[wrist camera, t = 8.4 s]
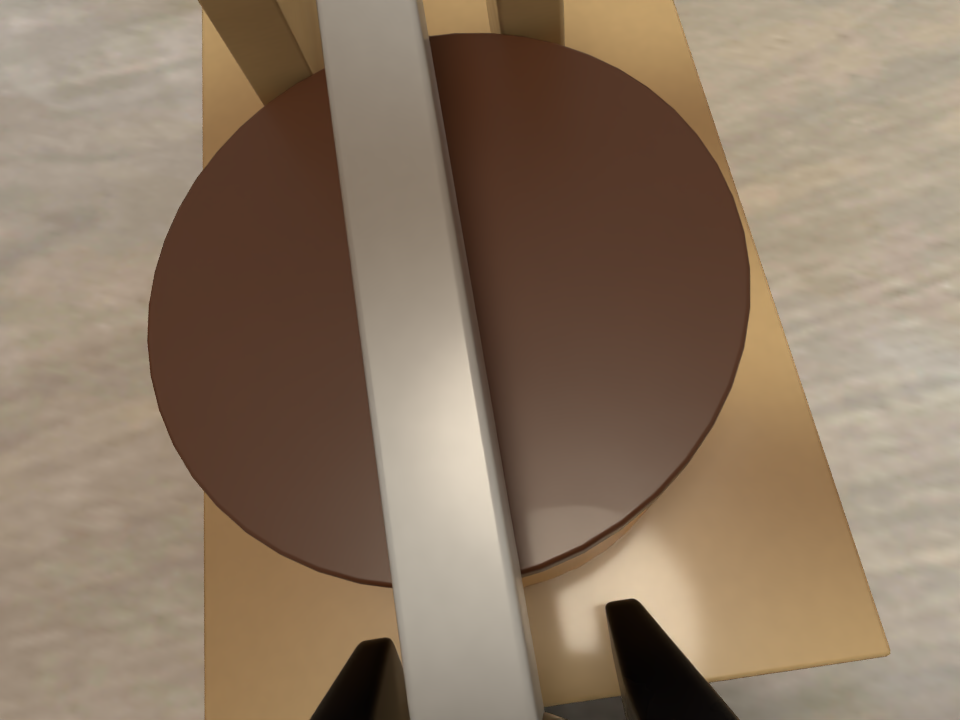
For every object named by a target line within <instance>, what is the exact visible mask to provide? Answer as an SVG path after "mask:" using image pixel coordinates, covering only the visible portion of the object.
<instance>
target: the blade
mask: <svg viewBox="0 0 960 720" xmlns="http://www.w3.org/2000/svg"><path fill="white" fill-rule="evenodd" d="M316 5H317V12H318V20H319V28H320V35H321V43H322V51H323V58H324V66H325V74H326V81H327V89H328V97H329V104H330V112H331V120H332V127H333V135H334V143H335V150H336V158H337V166H338V173H339V181H340V189H341V196H342V204H343V212H344V219H345V227H346V235H347V242H348V250H349V258H350V265H351V273H352V281H353V288H354V296H355V304H356V311H357V319H358V327H359V335H360V342H361V350H362V358H363V365H364V373H365V381H366V388H367V396H368V404H369V411H370V419H371V427H372V434H373V442H374V450H375V457H376V465H377V473H378V480H379V488H380V496H381V503H382V511H383V519H384V526H385V534H386V542H387V549H388V557H389V565H390V572H391V580H392V588H393V595H394V603H395V611H396V618H397V626H398V634H399V641H400V649H401V657H402V664H403V672H404V680H405V687H406V695H407V703H408V710H409V718H410V720H567V719H564V718H562V717H559V716H556V715H553V714H550V713H546V712H545V711H544V706H543V700H542V694H541V688H540V682H539V676H538V671H537V665H536V659H535V653H534V647H533V641H532V636H531V630H530V624H529V618H528V612H527V606H526V601H525V595H524V589H523V583H522V577H521V571H520V566H519V560H518V554H517V548H516V542H515V537H514V531H513V525H512V519H511V513H510V507H509V502H508V496H507V490H506V484H505V478H504V472H503V467H502V461H501V455H500V449H499V443H498V437H497V432H496V426H495V420H494V414H493V408H492V402H491V397H490V391H489V385H488V379H487V373H486V367H485V362H484V356H483V350H482V344H481V338H480V332H479V327H478V321H477V315H476V309H475V303H474V297H473V292H472V286H471V280H470V274H469V268H468V262H467V257H466V251H465V245H464V239H463V233H462V227H461V222H460V216H459V210H458V204H457V198H456V192H455V187H454V181H453V175H452V169H451V163H450V157H449V152H448V146H447V140H446V134H445V128H444V122H443V117H442V111H441V105H440V99H439V93H438V87H437V82H436V76H435V70H434V64H433V58H432V52H431V47H430V41H429V35H428V29H427V23H426V17H425V12H424V6H423V0H316Z"/></svg>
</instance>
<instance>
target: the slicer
mask: <svg viewBox="0 0 960 720" xmlns="http://www.w3.org/2000/svg"><path fill="white" fill-rule="evenodd" d="M198 1H199V3H200V5H201V6H202V69H203V169H204V168H205V167H206V165H207V164H208V163H209V161H210V160H211V159H212V157H213V156H214V155H215V153H216V152H217V151H218V150H219V149H220V148H221V147H222V146H223V145H224V144H225V142H226V141H227V140H228V139H229V138H230V137H231V136H232V135H233V134H234V133H235V132H236V131H237V130H238V129H239V128H240V127H241V126H242V125H243V124H244V123H245V122H246V121H247V120H249V119H250V118H251V117H252V116H253V115H254V114H256V113H257V112H258V111H259V110H260V109H261V108H263V107H264V106H265V105H266V104H267V103H269V102H270V101H272V100H273V99H275V98H276V97H277V96H279V95H280V94H282V93H283V92H285V91H286V90H287V89H289V88H290V87H292V86H293V85H295V84H296V83H298V82H300V81H302V80H304V79H305V78H307V77H309V76H311V75H313V74H314V73H316V72H318V71H320V70H321V69H323V68H325V66H324V58H323V51H322V43H321V35H320V28H319V20H318V12H317V5H316V0H198ZM423 6H424V12H425V17H426V23H427V29H428V35H429V36H433V35H442V34H451V33H496V34H506V35H516V36H524V37H529V38H534V39H538V40H543V41H548V42H553V43H557V44H560V45H563V46H566V47H569V48H572V49H575V50H578V51H581V52H584V53H587V54H589V55H591V56H593V57H596V58H598V59H600V60H602V61H604V62H606V63H608V64H610V65H612V66H615V67H617V68H619V69H620V70H622V71H624V72H625V73H627V74H628V75H630V76H631V77H633V78H635V79H636V80H638V81H639V82H641V83H642V84H644V85H646V86H647V87H649V88H650V89H651V90H652V91H653V92H655V93H656V94H657V95H658V96H659V97H661V98H662V99H663V100H664V101H665V102H666V103H668V104H669V105H670V106H671V107H672V108H674V109H675V110H676V111H677V113H678V114H679V115H680V116H681V117H682V118H683V119H684V120H685V121H686V122H687V124H688V125H689V126H690V127H691V128H692V129H693V130H694V131H695V132H696V133H697V135H698V136H699V137H700V139H701V140H702V142H703V143H704V145H705V146H706V148H707V149H708V151H709V152H710V154H711V155H712V157H713V158H714V159H715V161H716V162H717V164H718V166H719V168H720V170H721V172H722V174H723V176H724V178H725V180H726V182H727V184H728V187H729V189H730V191H731V193H732V195H733V197H734V200H735V203H736V206H737V209H738V213H739V216H740V219H741V222H742V225H743V229H744V232H745V238H746V244H747V251H748V257H749V264H750V314H749V321H748V328H747V334H746V341H745V347H744V351H743V354H742V357H741V360H740V364H739V367H738V370H737V373H736V377H735V380H734V383H733V386H732V389H731V391H730V393H729V395H728V397H727V399H726V401H725V403H724V405H723V407H722V410H721V412H720V414H719V416H718V418H717V420H716V422H715V424H714V426H713V428H712V429H711V431H710V432H709V433H708V435H707V436H706V438H705V439H704V441H703V442H702V444H701V445H700V447H699V448H698V450H697V451H696V453H695V454H694V456H693V457H692V459H691V460H690V462H689V463H688V464H687V466H686V467H685V469H684V470H683V471H682V472H681V473H680V474H679V475H678V476H677V478H676V479H675V480H674V481H673V482H672V483H671V484H670V485H669V486H668V488H667V489H666V490H665V491H664V492H663V493H662V494H661V495H660V496H659V498H658V499H657V500H656V501H655V502H654V503H653V504H651V505H650V506H649V507H648V508H647V510H646V511H645V512H644V514H643V515H642V516H641V517H640V518H639V519H638V520H637V521H636V522H635V524H634V525H633V526H632V527H631V528H630V529H629V530H628V531H627V532H626V533H625V534H624V535H623V536H622V537H621V538H619V539H618V540H617V541H616V542H615V543H613V544H612V545H611V546H610V547H609V548H607V549H606V550H605V551H604V552H602V553H601V554H599V555H597V556H596V557H594V558H593V559H591V560H589V561H588V562H586V563H585V564H583V565H581V566H580V567H578V568H576V569H573V570H571V571H569V572H567V573H564V574H562V575H560V576H558V577H556V578H553V579H550V580H547V581H543V582H540V583H536V584H533V585H530V586H526V587H523V589H524V595H525V601H526V606H527V612H528V618H529V624H530V630H531V636H532V641H533V647H534V653H535V659H536V665H537V671H538V676H539V682H540V688H541V694H542V700H543V706H544V707H549V706H555V705H562V704H569V703H576V702H582V701H589V700H596V699H603V698H609V697H616V696H621V692H620V687H619V683H618V678H617V673H616V668H615V664H614V659H613V654H612V648H611V642H610V636H609V630H608V624H607V618H606V611H605V606H606V604H607V603H608V602H612V601H618V600H624V599H630V598H634V599H636V600H638V601H639V602H640V603H641V604H642V605H643V606H644V608H645V609H646V610H647V611H648V612H649V613H650V615H651V616H652V617H653V618H654V619H655V621H656V622H657V623H658V624H659V625H660V626H661V628H662V629H663V630H664V631H665V632H666V634H667V635H668V636H669V637H670V638H671V639H672V641H673V642H674V643H675V644H676V645H677V646H678V648H679V649H680V650H681V651H682V652H683V654H684V655H685V656H686V657H687V658H688V659H689V661H690V662H691V663H692V664H693V665H694V667H695V668H696V669H697V670H698V671H699V672H700V674H701V675H702V676H703V677H704V678H705V680H706V681H707V682H708V683H711V682H717V681H724V680H731V679H738V678H744V677H751V676H758V675H765V674H771V673H778V672H785V671H792V670H798V669H805V668H812V667H819V666H825V665H832V664H839V663H846V662H852V661H859V660H866V659H873V658H879V657H886V656H888V655H889V654H890V648H889V645H888V642H887V639H886V636H885V633H884V630H883V627H882V624H881V621H880V618H879V615H878V612H877V609H876V606H875V603H874V600H873V597H872V594H871V591H870V588H869V585H868V582H867V579H866V576H865V573H864V570H863V567H862V564H861V561H860V558H859V555H858V552H857V549H856V546H855V543H854V540H853V537H852V534H851V531H850V528H849V525H848V522H847V519H846V516H845V513H844V510H843V507H842V504H841V501H840V498H839V495H838V492H837V489H836V486H835V483H834V480H833V477H832V474H831V471H830V468H829V465H828V462H827V459H826V456H825V453H824V450H823V447H822V444H821V441H820V438H819V435H818V432H817V429H816V426H815V423H814V420H813V417H812V414H811V411H810V408H809V405H808V402H807V399H806V396H805V393H804V390H803V387H802V384H801V381H800V378H799V375H798V372H797V369H796V366H795V363H794V360H793V357H792V354H791V351H790V348H789V345H788V342H787V339H786V336H785V333H784V330H783V327H782V324H781V321H780V318H779V315H778V312H777V309H776V306H775V303H774V300H773V297H772V294H771V291H770V288H769V285H768V282H767V279H766V276H765V273H764V270H763V267H762V264H761V261H760V258H759V255H758V252H757V249H756V246H755V243H754V240H753V237H752V235H751V232H750V229H749V226H748V223H747V220H746V217H745V214H744V211H743V208H742V205H741V202H740V199H739V196H738V193H737V190H736V187H735V184H734V181H733V178H732V175H731V172H730V169H729V166H728V163H727V160H726V157H725V154H724V151H723V148H722V145H721V142H720V139H719V136H718V133H717V130H716V127H715V124H714V121H713V118H712V115H711V112H710V109H709V106H708V103H707V100H706V97H705V94H704V91H703V88H702V85H701V82H700V79H699V76H698V73H697V70H696V67H695V64H694V61H693V58H692V55H691V52H690V49H689V46H688V43H687V40H686V37H685V34H684V31H683V28H682V25H681V22H680V19H679V16H678V13H677V10H676V7H675V4H674V1H673V0H423ZM384 637H386V638H390V639H391V640H392V641H393V642H394V645H395V647H396V650H397V653H398V655H399V658H400V661H401V663H402V657H401V649H400V641H399V634H398V626H397V618H396V611H395V603H394V595H393V588H385V587H378V586H370V585H363V584H358V583H354V582H351V581H347V580H344V579H340V578H337V577H333V576H330V575H326V574H323V573H319V572H317V571H315V570H312V569H310V568H308V567H306V566H304V565H301V564H299V563H297V562H295V561H293V560H290V559H288V558H286V557H284V556H282V555H280V554H278V553H276V552H275V551H273V550H272V549H270V548H269V547H267V546H266V545H264V544H263V543H261V542H260V541H258V540H256V539H255V538H253V537H252V536H250V535H249V534H247V533H246V532H245V531H244V530H242V529H241V528H240V527H239V526H238V525H237V524H236V523H235V522H233V521H232V520H231V519H230V518H229V517H228V516H227V515H226V514H224V513H223V512H222V511H221V510H220V509H219V508H218V507H217V506H216V505H215V504H214V503H213V501H212V500H211V499H210V498H209V497H208V495H207V494H206V493H205V492H204V655H205V720H310V718H311V717H312V715H313V713H314V712H315V710H316V709H317V707H318V706H319V704H320V703H321V701H322V699H323V698H324V696H325V695H326V693H327V692H328V690H329V689H330V687H331V685H332V684H333V682H334V681H335V679H336V678H337V676H338V675H339V673H340V671H341V670H342V668H343V667H344V665H345V664H346V662H347V661H348V659H349V657H350V656H351V654H352V653H353V651H354V650H355V648H356V647H357V645H358V644H359V643H361V642H362V641H365V640H371V639H378V638H384ZM402 666H403V664H402Z"/></svg>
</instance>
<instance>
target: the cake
mask: <svg viewBox="0 0 960 720" xmlns="http://www.w3.org/2000/svg"><path fill="white" fill-rule="evenodd" d="M429 41H430V47H431V52H432V58H433V64H434V70H435V76H436V82H437V87H438V93H439V99H440V105H441V111H442V117H443V122H444V128H445V134H446V140H447V146H448V152H449V157H450V163H451V169H452V175H453V181H454V187H455V192H456V198H457V204H458V210H459V216H460V222H461V227H462V233H463V239H464V245H465V251H466V257H467V262H468V268H469V274H470V280H471V286H472V292H473V297H474V303H475V309H476V315H477V321H478V327H479V332H480V338H481V344H482V350H483V356H484V362H485V367H486V373H487V379H488V385H489V391H490V397H491V402H492V408H493V414H494V420H495V426H496V432H497V437H498V443H499V449H500V455H501V461H502V467H503V472H504V478H505V484H506V490H507V496H508V502H509V507H510V513H511V519H512V525H513V531H514V537H515V542H516V548H517V554H518V560H519V566H520V571H521V577H522V583H523V587H526V586H530V585H533V584H536V583H540V582H543V581H547V580H550V579H553V578H556V577H558V576H560V575H562V574H564V573H567V572H569V571H571V570H573V569H576V568H578V567H580V566H581V565H583V564H585V563H586V562H588V561H589V560H591V559H593V558H594V557H596V556H597V555H599V554H601V553H602V552H604V551H605V550H606V549H607V548H609V547H610V546H611V545H612V544H613V543H615V542H616V541H617V540H618V539H619V538H621V537H622V536H623V535H624V534H625V533H626V532H627V531H628V530H629V529H630V528H631V527H632V526H633V525H634V524H635V522H636V521H637V520H638V519H639V518H640V517H641V516H642V515H643V514H644V512H645V511H646V510H647V508H648V507H649V506H650V505H651V504H653V503H654V502H655V501H656V500H657V499H658V498H659V496H660V495H661V494H662V493H663V492H664V491H665V490H666V489H667V488H668V486H669V485H670V484H671V483H672V482H673V481H674V480H675V479H676V478H677V476H678V475H679V474H680V473H681V472H682V471H683V470H684V469H685V467H686V466H687V464H688V463H689V462H690V460H691V459H692V457H693V456H694V454H695V453H696V451H697V450H698V448H699V447H700V445H701V444H702V442H703V441H704V439H705V438H706V436H707V435H708V433H709V432H710V431H711V429H712V428H713V426H714V424H715V422H716V420H717V418H718V416H719V414H720V412H721V410H722V407H723V405H724V403H725V401H726V399H727V397H728V395H729V393H730V391H731V389H732V386H733V383H734V380H735V377H736V373H737V370H738V367H739V364H740V360H741V357H742V354H743V351H744V347H745V341H746V334H747V328H748V321H749V314H750V264H749V257H748V251H747V244H746V238H745V232H744V229H743V225H742V222H741V219H740V216H739V213H738V209H737V206H736V203H735V200H734V197H733V195H732V193H731V191H730V189H729V187H728V184H727V182H726V180H725V178H724V176H723V174H722V172H721V170H720V168H719V166H718V164H717V162H716V161H715V159H714V158H713V157H712V155H711V154H710V152H709V151H708V149H707V148H706V146H705V145H704V143H703V142H702V140H701V139H700V137H699V136H698V135H697V133H696V132H695V131H694V130H693V129H692V128H691V127H690V126H689V125H688V124H687V122H686V121H685V120H684V119H683V118H682V117H681V116H680V115H679V114H678V113H677V111H676V110H675V109H674V108H672V107H671V106H670V105H669V104H668V103H666V102H665V101H664V100H663V99H662V98H661V97H659V96H658V95H657V94H656V93H655V92H653V91H652V90H651V89H650V88H649V87H647V86H646V85H644V84H642V83H641V82H639V81H638V80H636V79H635V78H633V77H631V76H630V75H628V74H627V73H625V72H624V71H622V70H620V69H619V68H617V67H615V66H612V65H610V64H608V63H606V62H604V61H602V60H600V59H598V58H596V57H593V56H591V55H589V54H587V53H584V52H581V51H578V50H575V49H572V48H569V47H566V46H563V45H560V44H557V43H553V42H548V41H543V40H538V39H534V38H529V37H524V36H516V35H506V34H496V33H451V34H442V35H433V36H429ZM147 342H148V352H149V362H150V373H151V379H152V383H153V387H154V391H155V395H156V399H157V403H158V407H159V411H160V413H161V416H162V418H163V421H164V423H165V426H166V428H167V431H168V433H169V435H170V438H171V440H172V443H173V445H174V447H175V449H176V450H177V452H178V454H179V455H180V457H181V459H182V460H183V462H184V464H185V465H186V467H187V469H188V470H189V472H190V474H191V476H192V477H193V478H194V480H195V481H196V482H197V483H198V484H199V486H200V487H201V488H202V489H203V491H204V492H205V493H206V494H207V495H208V497H209V498H210V499H211V500H212V501H213V503H214V504H215V505H216V506H217V507H218V508H219V509H220V510H221V511H222V512H223V513H224V514H226V515H227V516H228V517H229V518H230V519H231V520H232V521H233V522H235V523H236V524H237V525H238V526H239V527H240V528H241V529H242V530H244V531H245V532H246V533H247V534H249V535H250V536H252V537H253V538H255V539H256V540H258V541H260V542H261V543H263V544H264V545H266V546H267V547H269V548H270V549H272V550H273V551H275V552H276V553H278V554H280V555H282V556H284V557H286V558H288V559H290V560H293V561H295V562H297V563H299V564H301V565H304V566H306V567H308V568H310V569H312V570H315V571H317V572H319V573H323V574H326V575H330V576H333V577H337V578H340V579H344V580H347V581H351V582H354V583H358V584H363V585H370V586H378V587H385V588H392V580H391V572H390V565H389V557H388V549H387V542H386V534H385V526H384V519H383V511H382V503H381V496H380V488H379V480H378V473H377V465H376V457H375V450H374V442H373V434H372V427H371V419H370V411H369V404H368V396H367V388H366V381H365V373H364V365H363V358H362V350H361V342H360V335H359V327H358V319H357V311H356V304H355V296H354V288H353V281H352V273H351V265H350V258H349V250H348V242H347V235H346V227H345V219H344V212H343V204H342V196H341V189H340V181H339V173H338V166H337V158H336V150H335V143H334V135H333V127H332V120H331V112H330V104H329V97H328V89H327V81H326V74H325V68H323V69H321V70H320V71H318V72H316V73H314V74H313V75H311V76H309V77H307V78H305V79H304V80H302V81H300V82H298V83H296V84H295V85H293V86H292V87H290V88H289V89H287V90H286V91H285V92H283V93H282V94H280V95H279V96H277V97H276V98H275V99H273V100H272V101H270V102H269V103H267V104H266V105H265V106H264V107H263V108H261V109H260V110H259V111H258V112H257V113H256V114H254V115H253V116H252V117H251V118H250V119H249V120H247V121H246V122H245V123H244V124H243V125H242V126H241V127H240V128H239V129H238V130H237V131H236V132H235V133H234V134H233V135H232V136H231V137H230V138H229V139H228V140H227V141H226V142H225V144H224V145H223V146H222V147H221V148H220V149H219V150H218V151H217V152H216V153H215V155H214V156H213V157H212V159H211V160H210V161H209V163H208V164H207V165H206V167H205V168H204V169H203V171H202V172H201V173H200V175H199V176H198V177H197V179H196V180H195V182H194V184H193V185H192V187H191V189H190V190H189V192H188V194H187V195H186V197H185V199H184V200H183V202H182V204H181V205H180V207H179V209H178V211H177V214H176V216H175V218H174V220H173V222H172V225H171V227H170V229H169V231H168V234H167V236H166V238H165V241H164V244H163V247H162V251H161V254H160V257H159V260H158V263H157V267H156V270H155V274H154V280H153V285H152V291H151V297H150V302H149V315H148V338H147Z"/></svg>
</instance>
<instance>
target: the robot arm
mask: <svg viewBox="0 0 960 720" xmlns="http://www.w3.org/2000/svg"><path fill="white" fill-rule="evenodd" d="M605 611H606V618H607V624H608V630H609V636H610V642H611V648H612V654H613V659H614V664H615V668H616V673H617V678H618V683H619V687H620V692H621V697H622V702H623V706H624V711H625V716H626V720H739V718H738V717H737V716H736V715H735V714H734V713H733V711H732V710H731V709H730V708H729V707H728V705H727V704H726V703H725V702H724V701H723V700H722V698H721V697H720V696H719V695H718V694H717V692H716V691H715V690H714V689H713V688H712V687H711V685H710V684H709V683H708V682H707V681H706V680H705V678H704V677H703V676H702V675H701V674H700V672H699V671H698V670H697V669H696V668H695V667H694V665H693V664H692V663H691V662H690V661H689V659H688V658H687V657H686V656H685V655H684V654H683V652H682V651H681V650H680V649H679V648H678V646H677V645H676V644H675V643H674V642H673V641H672V639H671V638H670V637H669V636H668V635H667V634H666V632H665V631H664V630H663V629H662V628H661V626H660V625H659V624H658V623H657V622H656V621H655V619H654V618H653V617H652V616H651V615H650V613H649V612H648V611H647V610H646V609H645V608H644V606H643V605H642V604H641V603H640V602H639V601H638V600H636V599H634V598H630V599H624V600H618V601H612V602H608V603H607V604H606V606H605ZM310 720H410V718H409V710H408V703H407V695H406V687H405V680H404V672H403V666H402V663H401V661H400V658H399V655H398V653H397V650H396V647H395V645H394V642H393V641H392V640H391V639H390V638H386V637H384V638H378V639H371V640H365V641H362V642H361V643H359V644H358V645H357V647H356V648H355V650H354V651H353V653H352V654H351V656H350V657H349V659H348V661H347V662H346V664H345V665H344V667H343V668H342V670H341V671H340V673H339V675H338V676H337V678H336V679H335V681H334V682H333V684H332V685H331V687H330V689H329V690H328V692H327V693H326V695H325V696H324V698H323V699H322V701H321V703H320V704H319V706H318V707H317V709H316V710H315V712H314V713H313V715H312V717H311V718H310Z"/></svg>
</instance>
